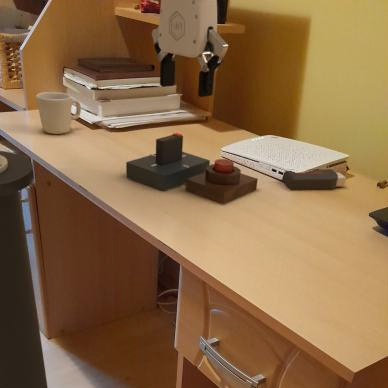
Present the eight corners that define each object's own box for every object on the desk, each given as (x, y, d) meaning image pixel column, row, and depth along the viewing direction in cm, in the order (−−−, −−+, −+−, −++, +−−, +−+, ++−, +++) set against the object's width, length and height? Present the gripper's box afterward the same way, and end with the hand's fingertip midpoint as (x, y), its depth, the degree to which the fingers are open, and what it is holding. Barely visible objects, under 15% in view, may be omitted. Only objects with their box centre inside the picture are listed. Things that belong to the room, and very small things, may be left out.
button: (225, 175, 96) (226, 166, 95) (210, 170, 98) (210, 161, 97) (236, 171, 99) (237, 162, 98) (221, 166, 100) (222, 157, 99)
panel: (164, 191, 98) (164, 174, 96) (125, 177, 103) (125, 160, 101) (209, 174, 107) (210, 159, 105) (172, 162, 112) (172, 147, 110)
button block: (223, 204, 95) (225, 182, 92) (185, 190, 99) (186, 169, 97) (256, 189, 102) (259, 169, 99) (219, 177, 106) (221, 157, 104)
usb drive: (281, 180, 107) (284, 167, 105) (335, 180, 109) (338, 167, 108) (290, 190, 103) (293, 176, 101) (345, 189, 105) (349, 175, 104)
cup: (72, 124, 131) (70, 89, 126) (90, 131, 126) (88, 96, 121) (33, 129, 125) (29, 93, 120) (50, 138, 120) (47, 100, 115)
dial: (162, 165, 101) (162, 139, 98) (155, 162, 102) (155, 137, 99) (182, 158, 105) (183, 134, 102) (175, 156, 105) (176, 132, 103)
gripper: (138, -30, 86) (138, 83, 96) (215, -22, 77) (206, 103, 87) (170, -29, 90) (167, 80, 101) (247, -21, 81) (235, 97, 91)
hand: (185, 90), depth 94 cm, fingers open, 9 cm apart
